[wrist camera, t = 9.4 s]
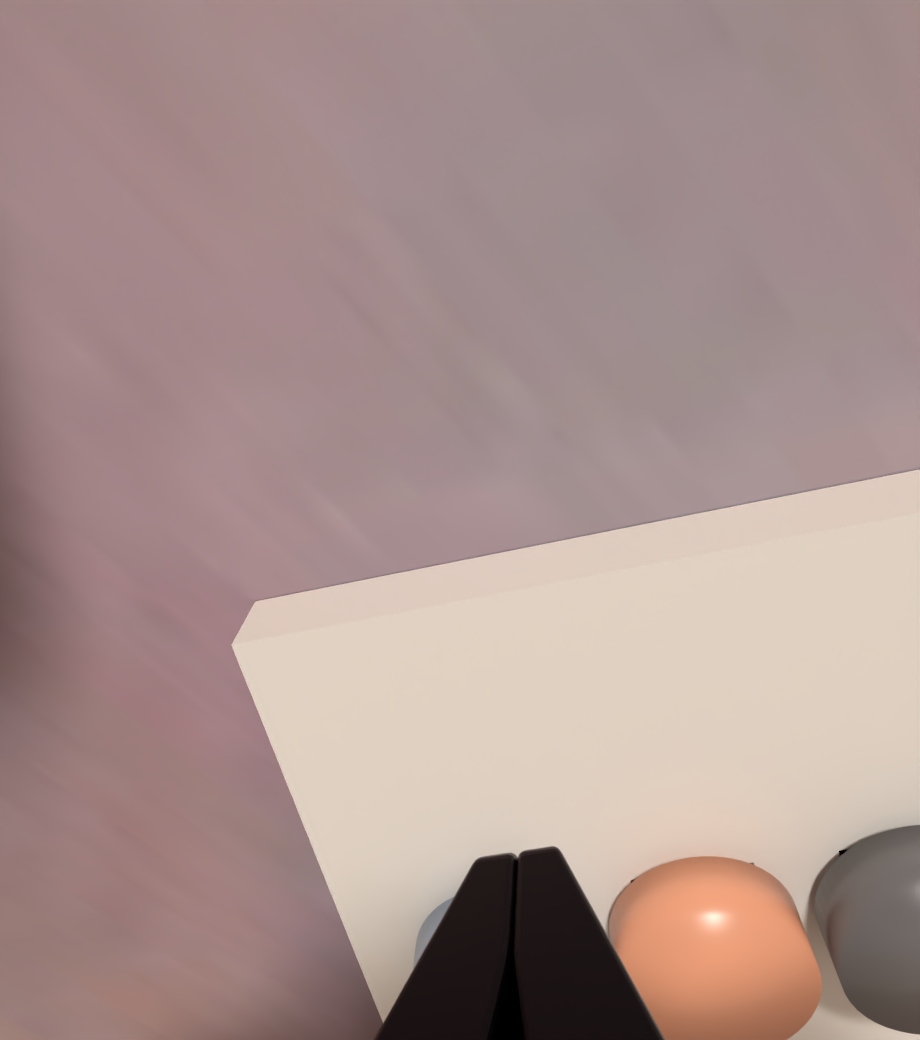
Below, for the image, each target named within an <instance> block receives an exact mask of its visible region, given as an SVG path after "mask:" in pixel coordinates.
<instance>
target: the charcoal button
mask: <svg viewBox="0 0 920 1040" xmlns="http://www.w3.org/2000/svg"><path fill="white" fill-rule="evenodd" d="M814 908H815V916H816V921H817V924H818V926H819V929H820V931H821V934H822V937H823V939H824V942H825V944H826V947H827V949H828V952H829V955H830V957H831V960H832V962H833V965H834V967H835V970H836V972H837V975H838V978H839V980H840V983H841V985H842V988H843V990H844V993H845V995H846V996H847V998H848V1000H849V1001H850V1003H851V1004H852V1005H853V1006H854V1007H855V1008H856V1009H857V1010H858V1011H859V1012H860V1013H861V1014H863V1015H864V1016H865V1017H867V1018H868V1019H870V1020H872V1021H873V1022H875V1023H877V1024H880V1025H882V1026H884V1027H886V1028H890V1029H893V1030H896V1031H900V1032H905V1033H910V1034H919V1035H920V825H913V826H905V827H900V828H895V829H892V830H888V831H885V832H882V833H879V834H877V835H874V836H872V837H869V838H867V839H865V840H863V841H861V842H860V843H858V844H856V845H855V846H853V847H852V848H850V849H848V850H847V851H846V852H845V853H844V854H842V855H841V856H840V857H839V858H838V859H837V860H836V861H835V862H834V863H833V864H832V865H831V866H830V867H829V869H828V870H827V871H826V873H825V874H824V876H823V878H822V880H821V881H820V883H819V886H818V889H817V892H816V896H815V902H814Z"/></svg>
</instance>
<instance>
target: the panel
mask: <svg viewBox="0 0 920 1040" xmlns="http://www.w3.org/2000/svg"><path fill="white" fill-rule="evenodd" d="M232 648H233V650H234V653H235V655H236V658H237V660H238V663H239V665H240V668H241V670H242V673H243V675H244V678H245V680H246V683H247V685H248V688H249V690H250V692H251V695H252V697H253V700H254V702H255V705H256V707H257V710H258V712H259V715H260V717H261V720H262V722H263V725H264V727H265V730H266V732H267V735H268V737H269V740H270V742H271V745H272V747H273V750H274V752H275V755H276V757H277V760H278V762H279V765H280V767H281V770H282V772H283V775H284V777H285V780H286V782H287V785H288V787H289V790H290V792H291V795H292V797H293V800H294V802H295V805H296V807H297V810H298V812H299V815H300V817H301V820H302V822H303V825H304V827H305V830H306V832H307V835H308V837H309V840H310V842H311V845H312V847H313V850H314V852H315V855H316V857H317V860H318V862H319V865H320V867H321V870H322V872H323V875H324V877H325V880H326V882H327V885H328V887H329V890H330V892H331V895H332V897H333V900H334V902H335V905H336V907H337V910H338V912H339V915H340V917H341V920H342V922H343V925H344V927H345V930H346V932H347V935H348V937H349V940H350V942H351V945H352V947H353V950H354V952H355V955H356V957H357V960H358V962H359V964H360V967H361V969H362V972H363V974H364V977H365V979H366V982H367V984H368V987H369V989H370V992H371V994H372V997H373V999H374V1002H375V1004H376V1007H377V1009H378V1012H379V1014H380V1017H381V1019H382V1022H383V1023H384V1021H385V1019H386V1017H387V1015H388V1014H389V1012H390V1010H391V1008H392V1007H393V1005H394V1003H395V1001H396V999H397V998H398V996H399V994H400V992H401V991H402V989H403V987H404V985H405V983H406V982H407V980H408V978H409V976H410V974H411V973H412V971H413V965H414V956H415V948H416V940H417V936H418V933H419V930H420V928H421V926H422V924H423V922H424V921H425V920H426V918H427V917H428V916H429V915H430V913H431V912H432V911H433V910H434V909H436V908H437V907H438V906H439V905H441V904H442V903H443V902H445V901H447V900H449V899H450V898H452V897H454V896H455V894H456V892H457V891H458V889H459V887H460V885H461V883H462V882H463V880H464V878H465V876H466V875H467V873H468V871H469V869H470V867H471V866H472V864H473V862H474V861H475V860H476V859H478V858H479V857H482V856H489V855H496V854H502V853H513V854H515V855H516V856H517V857H518V856H519V854H520V853H521V852H522V851H524V850H529V849H536V848H543V847H550V846H555V847H557V848H559V849H560V850H561V852H562V854H563V855H564V857H565V859H566V861H567V863H568V864H569V866H570V868H571V870H572V872H573V874H574V875H575V877H576V879H577V881H578V883H579V884H580V886H581V888H582V890H583V892H584V893H585V895H586V897H587V899H588V901H589V903H590V904H591V906H592V908H593V910H594V912H595V913H596V915H597V917H598V919H599V921H600V922H601V924H602V926H603V928H604V930H605V932H606V933H607V935H608V937H609V939H610V935H609V921H610V916H611V912H612V910H613V907H614V905H615V903H616V901H617V899H618V898H619V896H620V895H621V894H622V892H623V891H624V890H625V889H626V888H627V887H628V886H629V885H630V884H631V883H632V882H633V881H634V879H637V878H638V877H640V876H641V875H643V874H644V873H646V872H648V871H650V870H651V869H653V868H656V867H658V866H660V865H663V864H665V863H669V862H672V861H675V860H679V859H685V858H690V857H701V856H716V857H726V858H732V859H736V860H741V861H744V862H747V863H750V864H753V865H755V866H757V867H759V868H761V869H763V870H765V871H767V872H768V873H770V874H771V875H773V876H774V877H775V878H776V879H778V880H779V881H780V882H781V883H782V884H783V885H784V886H785V888H786V889H787V890H788V892H789V893H790V895H791V896H792V898H793V900H794V903H795V905H796V908H797V910H798V913H799V916H800V919H801V921H802V924H803V927H804V929H805V932H806V935H807V937H808V940H809V943H810V946H811V948H812V951H813V954H814V956H815V959H816V962H817V964H818V967H819V970H820V974H821V979H822V991H821V997H820V1000H819V1003H818V1006H817V1008H816V1010H815V1012H814V1014H813V1015H812V1017H811V1018H810V1019H809V1021H808V1022H807V1023H806V1024H805V1025H804V1026H803V1027H802V1028H801V1029H800V1030H799V1031H798V1032H797V1033H796V1034H794V1035H793V1036H792V1037H790V1038H789V1039H787V1040H920V1035H919V1034H910V1033H905V1032H900V1031H896V1030H893V1029H890V1028H886V1027H884V1026H882V1025H880V1024H877V1023H875V1022H873V1021H872V1020H870V1019H868V1018H867V1017H865V1016H864V1015H863V1014H861V1013H860V1012H859V1011H858V1010H857V1009H856V1008H855V1007H854V1006H853V1005H852V1004H851V1003H850V1001H849V1000H848V998H847V996H846V995H845V993H844V990H843V988H842V985H841V983H840V980H839V978H838V975H837V972H836V970H835V967H834V965H833V962H832V960H831V957H830V955H829V952H828V949H827V947H826V944H825V942H824V939H823V937H822V934H821V931H820V929H819V926H818V924H817V921H816V916H815V908H814V902H815V896H816V892H817V889H818V886H819V883H820V881H821V880H822V878H823V876H824V874H825V873H826V871H827V870H828V869H829V867H830V866H831V865H832V864H833V863H834V862H835V861H836V860H837V859H838V858H839V857H840V856H839V850H846V849H850V848H852V847H853V846H855V845H856V844H858V843H860V842H861V841H863V840H865V839H867V838H869V837H872V836H874V835H877V834H879V833H882V832H885V831H888V830H892V829H895V828H900V827H905V826H913V825H920V470H915V471H910V472H905V473H899V474H894V475H889V476H884V477H879V478H874V479H869V480H864V481H859V482H854V483H849V484H844V485H839V486H834V487H829V488H824V489H819V490H814V491H809V492H804V493H799V494H794V495H789V496H784V497H779V498H774V499H769V500H764V501H759V502H754V503H749V504H744V505H739V506H734V507H729V508H723V509H718V510H713V511H708V512H703V513H698V514H693V515H688V516H683V517H678V518H673V519H668V520H663V521H658V522H653V523H648V524H643V525H638V526H633V527H628V528H623V529H618V530H613V531H608V532H603V533H598V534H593V535H588V536H583V537H578V538H573V539H568V540H563V541H558V542H553V543H548V544H542V545H537V546H532V547H527V548H522V549H517V550H512V551H507V552H502V553H497V554H492V555H487V556H482V557H477V558H472V559H467V560H462V561H457V562H452V563H447V564H442V565H437V566H432V567H427V568H422V569H417V570H412V571H407V572H402V573H397V574H392V575H387V576H382V577H377V578H372V579H367V580H361V581H356V582H351V583H346V584H341V585H336V586H331V587H326V588H321V589H316V590H311V591H306V592H301V593H296V594H291V595H286V596H281V597H276V598H271V599H266V600H261V601H256V602H255V603H254V605H253V607H252V609H251V610H250V612H249V614H248V616H247V618H246V619H245V621H244V623H243V625H242V627H241V629H240V630H239V632H238V634H237V636H236V638H235V640H234V641H233V643H232Z"/></svg>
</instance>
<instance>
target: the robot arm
mask: <svg viewBox="0 0 920 1040" xmlns="http://www.w3.org/2000/svg"><path fill="white" fill-rule="evenodd" d="M374 1040H665V1039H664V1037H663V1035H662V1033H661V1031H660V1030H659V1028H658V1026H657V1024H656V1022H655V1020H654V1019H653V1017H652V1015H651V1013H650V1011H649V1010H648V1008H647V1006H646V1004H645V1002H644V1000H643V999H642V997H641V995H640V993H639V991H638V990H637V988H636V986H635V984H634V982H633V981H632V979H631V977H630V975H629V973H628V971H627V970H626V968H625V966H624V964H623V962H622V961H621V959H620V957H619V955H618V953H617V952H616V950H615V948H614V946H613V944H612V942H611V941H610V939H609V937H608V935H607V933H606V932H605V930H604V928H603V926H602V924H601V922H600V921H599V919H598V917H597V915H596V913H595V912H594V910H593V908H592V906H591V904H590V903H589V901H588V899H587V897H586V895H585V893H584V892H583V890H582V888H581V886H580V884H579V883H578V881H577V879H576V877H575V875H574V874H573V872H572V870H571V868H570V866H569V864H568V863H567V861H566V859H565V857H564V855H563V854H562V852H561V850H560V849H559V848H557V847H555V846H550V847H543V848H536V849H529V850H524V851H522V852H521V853H520V854H519V856H518V857H517V856H516V855H515V854H513V853H502V854H496V855H489V856H482V857H479V858H478V859H476V860H475V861H474V862H473V864H472V866H471V867H470V869H469V871H468V873H467V875H466V876H465V878H464V880H463V882H462V883H461V885H460V887H459V889H458V891H457V892H456V894H455V896H454V898H453V900H452V901H451V903H450V905H449V907H448V908H447V910H446V912H445V914H444V916H443V917H442V919H441V921H440V923H439V925H438V926H437V928H436V930H435V932H434V933H433V935H432V937H431V939H430V941H429V942H428V944H427V946H426V948H425V949H424V951H423V953H422V955H421V957H420V958H419V960H418V962H417V964H416V966H415V967H414V969H413V971H412V973H411V974H410V976H409V978H408V980H407V982H406V983H405V985H404V987H403V989H402V991H401V992H400V994H399V996H398V998H397V999H396V1001H395V1003H394V1005H393V1007H392V1008H391V1010H390V1012H389V1014H388V1015H387V1017H386V1019H385V1021H384V1023H383V1024H382V1026H381V1028H380V1030H379V1032H378V1033H377V1035H376V1037H375V1039H374Z"/></svg>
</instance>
